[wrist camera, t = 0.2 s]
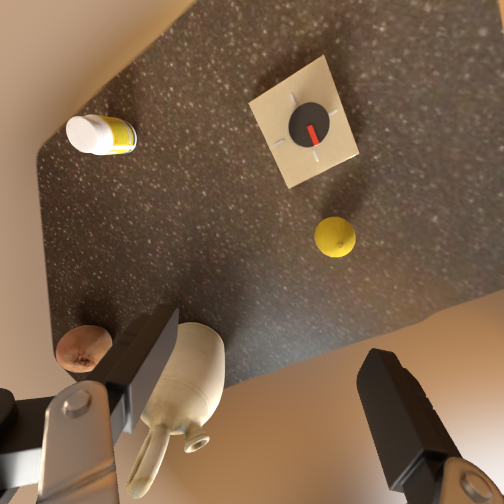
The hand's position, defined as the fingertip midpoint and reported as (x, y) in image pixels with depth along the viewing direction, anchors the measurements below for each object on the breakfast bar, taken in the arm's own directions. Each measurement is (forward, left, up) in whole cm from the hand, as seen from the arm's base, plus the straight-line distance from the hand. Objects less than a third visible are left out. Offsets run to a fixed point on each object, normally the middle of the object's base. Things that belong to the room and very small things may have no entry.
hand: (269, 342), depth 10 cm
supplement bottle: (-19, -17, -31) cm, 40 cm away
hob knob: (-7, +7, -28) cm, 30 cm away
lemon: (+8, +5, -31) cm, 33 cm away
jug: (+20, -29, -31) cm, 47 cm away
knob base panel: (-7, +7, -31) cm, 33 cm away
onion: (+9, -48, -31) cm, 58 cm away
